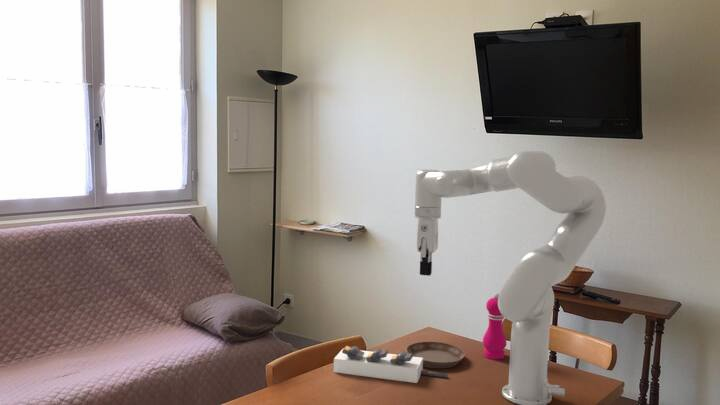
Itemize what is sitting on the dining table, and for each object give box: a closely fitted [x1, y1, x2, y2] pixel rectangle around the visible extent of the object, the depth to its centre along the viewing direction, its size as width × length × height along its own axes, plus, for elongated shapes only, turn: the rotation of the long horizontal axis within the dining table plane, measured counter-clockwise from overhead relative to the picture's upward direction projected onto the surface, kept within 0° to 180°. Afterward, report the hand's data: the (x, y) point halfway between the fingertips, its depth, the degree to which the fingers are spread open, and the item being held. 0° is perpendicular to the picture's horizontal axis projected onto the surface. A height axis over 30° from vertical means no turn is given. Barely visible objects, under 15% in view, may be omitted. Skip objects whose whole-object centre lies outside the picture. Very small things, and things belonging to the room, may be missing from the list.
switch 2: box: [390, 351, 413, 365], centre depth 171 cm, size 6×4×3 cm, turn 74°
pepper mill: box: [482, 292, 507, 361], centre depth 189 cm, size 7×7×20 cm
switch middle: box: [366, 348, 389, 362], centre depth 173 cm, size 6×4×3 cm, turn 74°
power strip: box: [333, 347, 449, 384], centre depth 174 cm, size 32×9×4 cm, turn 75°
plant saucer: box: [405, 341, 466, 369], centre depth 186 cm, size 18×18×3 cm
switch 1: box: [342, 345, 365, 360], centre depth 175 cm, size 6×4×3 cm, turn 75°
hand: (425, 274), depth 179 cm, fingers closed
